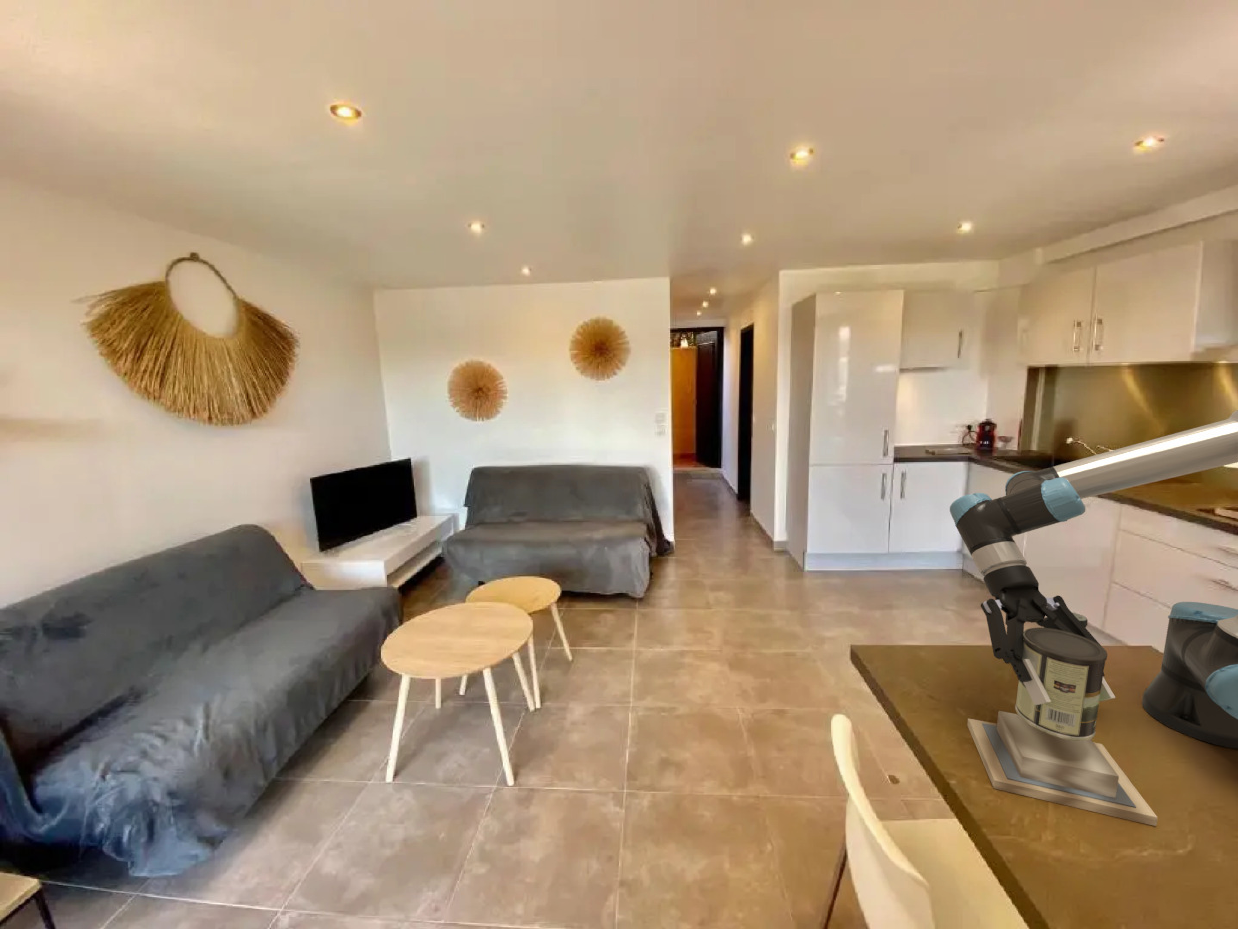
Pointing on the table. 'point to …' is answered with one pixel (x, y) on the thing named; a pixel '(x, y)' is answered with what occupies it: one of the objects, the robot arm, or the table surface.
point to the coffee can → (1063, 683)
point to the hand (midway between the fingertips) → (1074, 701)
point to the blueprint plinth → (1057, 795)
